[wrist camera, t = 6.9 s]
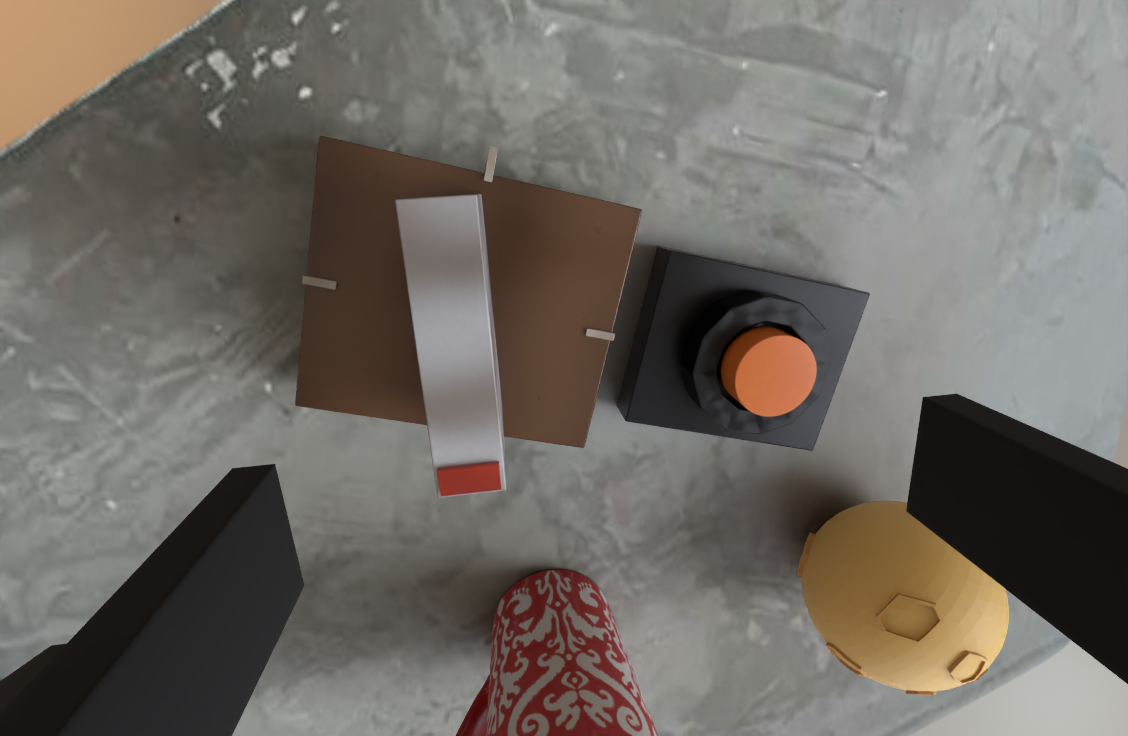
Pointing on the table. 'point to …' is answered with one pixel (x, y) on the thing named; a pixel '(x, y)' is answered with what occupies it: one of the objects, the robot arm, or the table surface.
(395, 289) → the plate
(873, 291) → the table surface
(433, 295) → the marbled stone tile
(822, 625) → the stress ball
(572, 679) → the mug
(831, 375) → the button housing
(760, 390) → the button
